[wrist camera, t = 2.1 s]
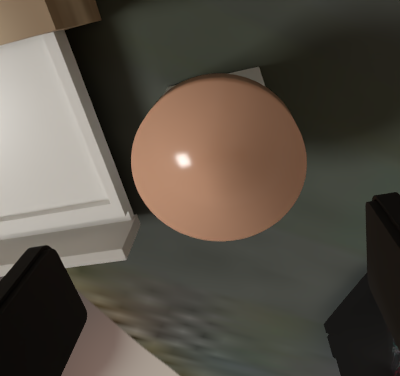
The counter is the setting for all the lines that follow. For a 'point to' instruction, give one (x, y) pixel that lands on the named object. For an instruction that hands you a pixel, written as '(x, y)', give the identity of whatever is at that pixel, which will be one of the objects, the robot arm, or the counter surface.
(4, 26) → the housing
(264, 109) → the peach dome
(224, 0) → the counter surface
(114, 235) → the tray
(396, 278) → the robot arm
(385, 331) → the fabric swatch
